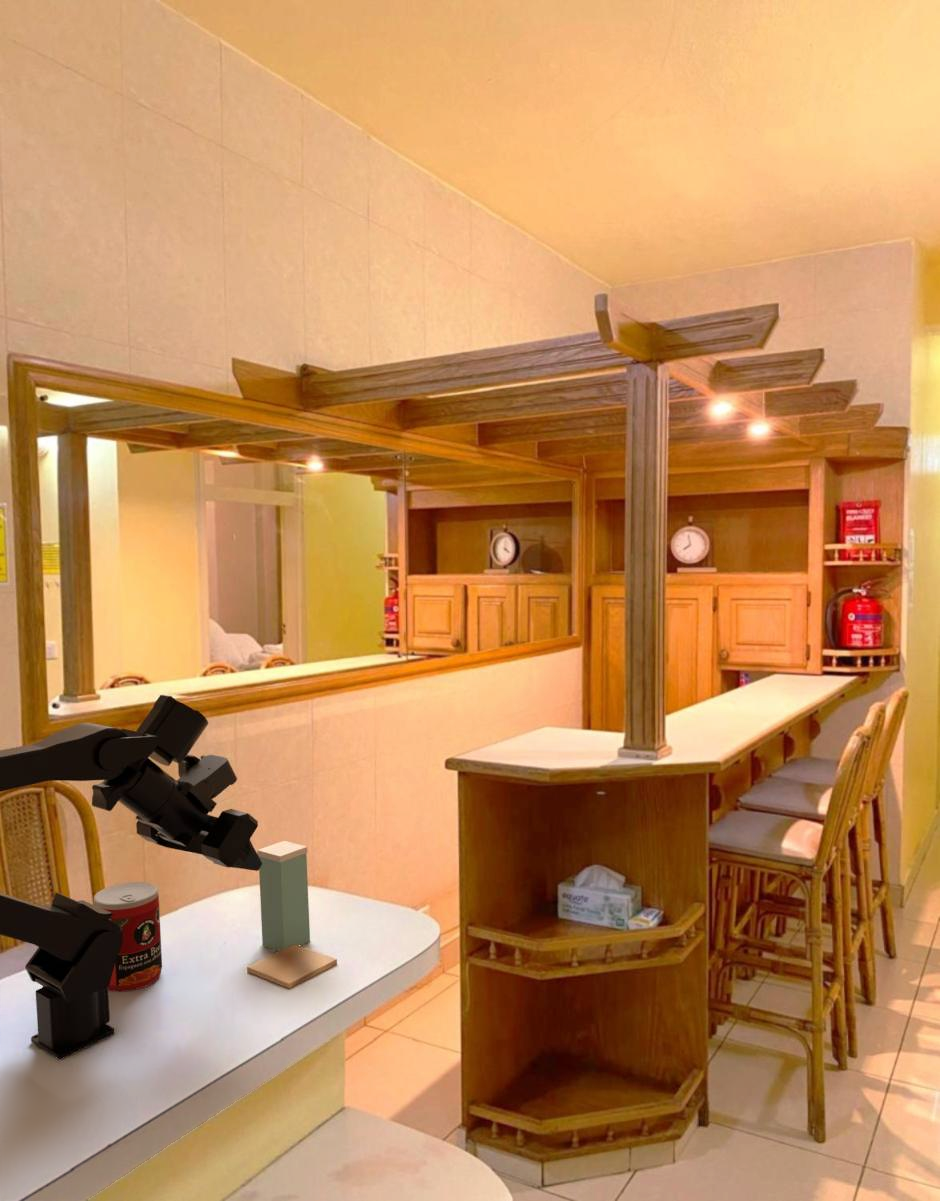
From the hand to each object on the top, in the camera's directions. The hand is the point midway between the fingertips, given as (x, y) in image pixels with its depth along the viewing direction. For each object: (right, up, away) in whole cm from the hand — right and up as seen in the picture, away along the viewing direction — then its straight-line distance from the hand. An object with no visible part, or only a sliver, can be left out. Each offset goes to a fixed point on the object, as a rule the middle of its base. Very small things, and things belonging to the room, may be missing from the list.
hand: (237, 859), depth 118 cm
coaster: (+7, -13, -1) cm, 15 cm away
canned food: (-13, -14, -2) cm, 20 cm away
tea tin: (+5, -13, +7) cm, 16 cm away
